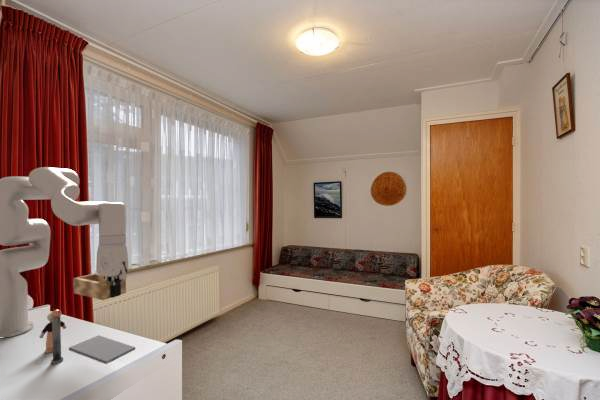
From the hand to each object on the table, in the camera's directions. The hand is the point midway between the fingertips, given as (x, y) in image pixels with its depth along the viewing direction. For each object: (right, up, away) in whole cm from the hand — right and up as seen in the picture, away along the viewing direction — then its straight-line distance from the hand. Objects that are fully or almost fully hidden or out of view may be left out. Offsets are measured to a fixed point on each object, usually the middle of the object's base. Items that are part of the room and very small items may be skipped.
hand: (113, 295), depth 99 cm
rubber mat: (-6, -19, +3) cm, 20 cm away
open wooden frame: (-7, 0, +3) cm, 7 cm away
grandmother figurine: (-22, -19, +3) cm, 30 cm away
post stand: (-15, -19, -4) cm, 25 cm away
